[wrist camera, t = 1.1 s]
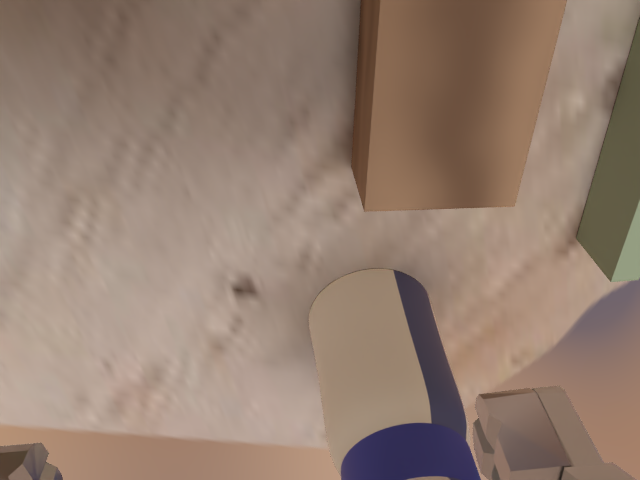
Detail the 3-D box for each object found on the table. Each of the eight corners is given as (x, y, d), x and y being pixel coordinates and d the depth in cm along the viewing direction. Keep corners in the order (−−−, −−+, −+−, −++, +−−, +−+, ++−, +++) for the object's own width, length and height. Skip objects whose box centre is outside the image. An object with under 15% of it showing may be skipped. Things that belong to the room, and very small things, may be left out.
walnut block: (350, 164, 29) (364, 211, 26) (361, -26, 24) (380, -1, 20) (482, 161, 30) (514, 206, 26) (521, -25, 25) (567, -1, 21)
